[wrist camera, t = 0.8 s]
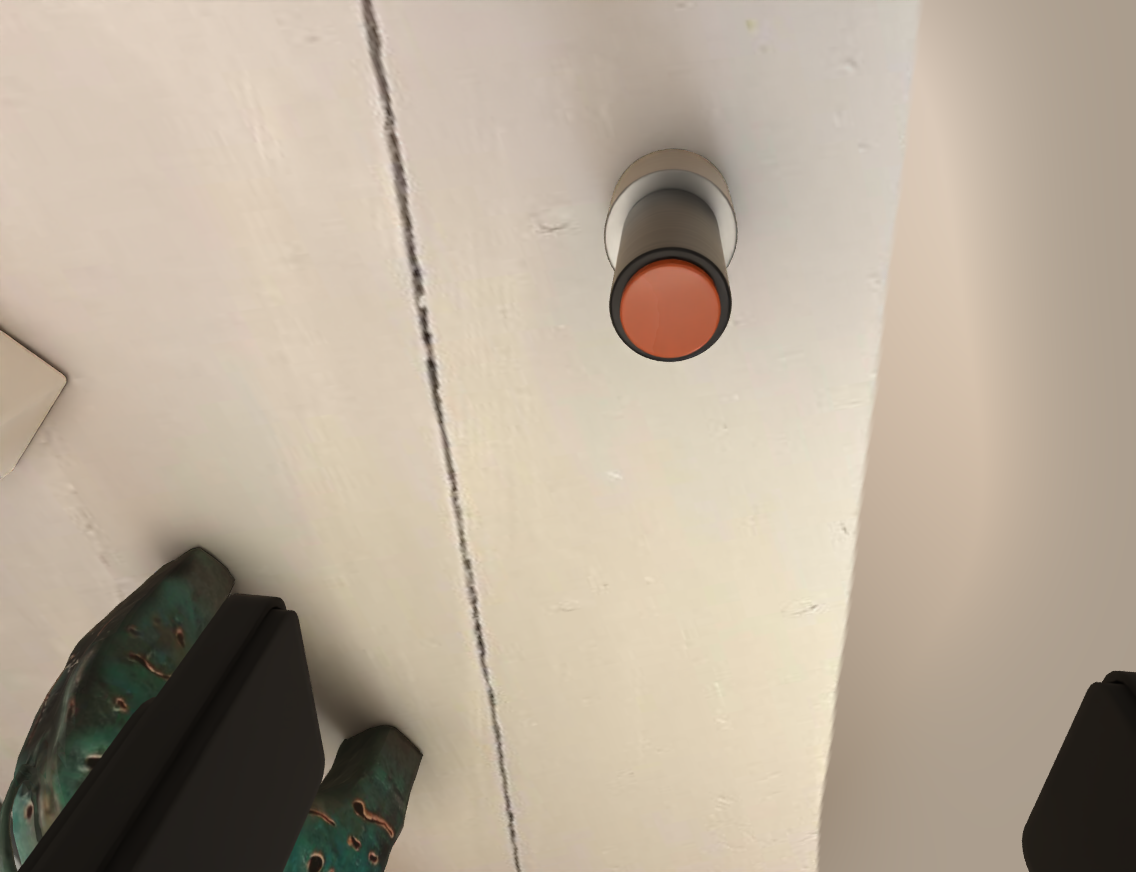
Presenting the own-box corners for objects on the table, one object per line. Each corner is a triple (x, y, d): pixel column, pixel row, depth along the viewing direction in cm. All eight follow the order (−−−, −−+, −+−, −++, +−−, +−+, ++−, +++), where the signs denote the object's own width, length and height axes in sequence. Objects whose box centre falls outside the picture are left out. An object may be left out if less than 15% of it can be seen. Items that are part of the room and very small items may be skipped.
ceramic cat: (456, 765, 47) (331, 1229, 30) (373, 797, 49) (212, 1245, 32) (210, 519, 40) (-143, 940, 22) (126, 570, 42) (-253, 987, 25)
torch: (613, 146, 29) (587, 223, 20) (738, 151, 29) (768, 232, 20) (608, 265, 31) (582, 384, 22) (723, 271, 31) (745, 394, 22)
